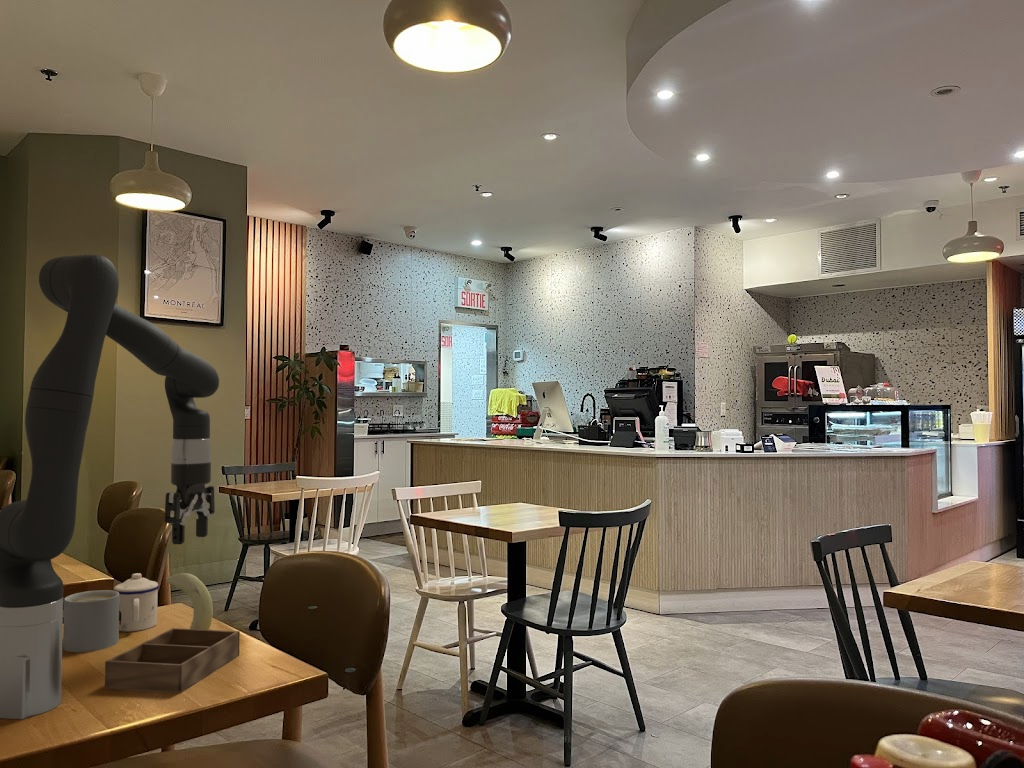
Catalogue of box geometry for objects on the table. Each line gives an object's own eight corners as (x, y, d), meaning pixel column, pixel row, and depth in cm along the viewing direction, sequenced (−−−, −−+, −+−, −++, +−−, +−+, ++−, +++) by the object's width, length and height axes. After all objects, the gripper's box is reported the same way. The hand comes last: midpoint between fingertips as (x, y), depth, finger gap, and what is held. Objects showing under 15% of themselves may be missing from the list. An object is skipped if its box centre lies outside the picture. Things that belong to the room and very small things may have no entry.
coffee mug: (121, 646, 154) (122, 597, 154) (65, 655, 148) (66, 604, 149) (112, 630, 165) (113, 584, 165) (59, 638, 159) (60, 591, 160)
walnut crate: (181, 695, 128) (181, 665, 128) (104, 690, 130) (105, 661, 130) (239, 657, 148) (239, 631, 148) (171, 653, 150) (172, 628, 150)
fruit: (220, 638, 153) (223, 635, 156) (200, 566, 154) (203, 565, 158) (184, 651, 151) (186, 648, 154) (164, 578, 152) (167, 576, 156)
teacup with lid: (113, 623, 170) (114, 571, 171) (157, 618, 174) (158, 568, 175) (111, 638, 160) (112, 582, 160) (158, 632, 164) (159, 578, 164)
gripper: (188, 463, 147) (187, 547, 147) (226, 458, 161) (225, 534, 161) (153, 463, 148) (152, 546, 148) (193, 458, 162) (192, 533, 162)
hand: (190, 540), depth 154 cm, fingers open, 8 cm apart
